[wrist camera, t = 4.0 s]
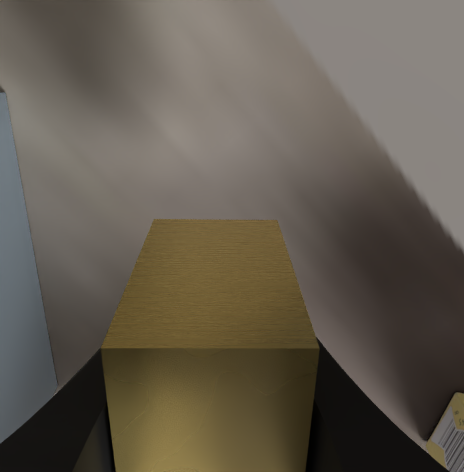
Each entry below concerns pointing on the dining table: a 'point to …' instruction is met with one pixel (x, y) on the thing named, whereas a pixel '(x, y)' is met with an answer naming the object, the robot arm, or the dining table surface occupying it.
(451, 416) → the candy box
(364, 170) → the dining table surface
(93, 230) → the dining table surface
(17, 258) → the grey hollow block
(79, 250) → the dining table surface
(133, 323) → the gold block
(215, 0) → the dining table surface
